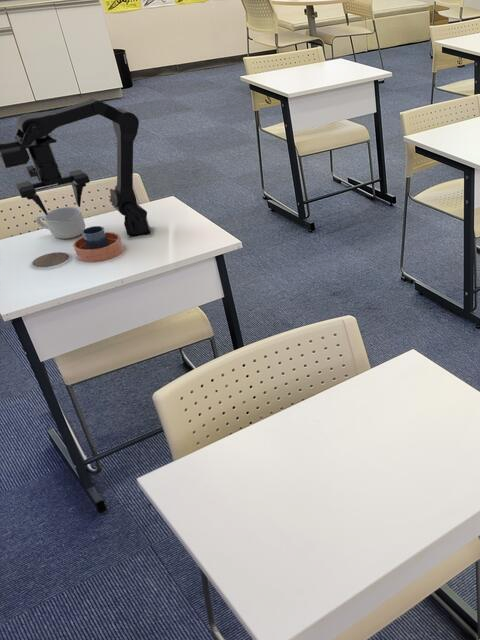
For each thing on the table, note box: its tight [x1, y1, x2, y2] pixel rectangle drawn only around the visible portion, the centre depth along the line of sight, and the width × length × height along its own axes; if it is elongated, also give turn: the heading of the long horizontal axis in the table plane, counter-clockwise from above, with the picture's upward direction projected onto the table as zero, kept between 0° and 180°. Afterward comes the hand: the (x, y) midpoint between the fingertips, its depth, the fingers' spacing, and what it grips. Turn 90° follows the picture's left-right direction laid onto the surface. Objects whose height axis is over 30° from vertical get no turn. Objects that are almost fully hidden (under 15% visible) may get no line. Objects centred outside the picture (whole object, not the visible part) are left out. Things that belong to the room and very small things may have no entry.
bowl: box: [72, 231, 125, 263], centre depth 216 cm, size 13×13×4 cm
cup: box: [81, 225, 110, 250], centre depth 214 cm, size 6×6×8 cm
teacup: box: [35, 206, 86, 240], centre depth 226 cm, size 14×11×8 cm
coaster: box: [32, 251, 70, 268], centre depth 213 cm, size 10×10×1 cm
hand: (63, 210), depth 211 cm, fingers open, 9 cm apart
